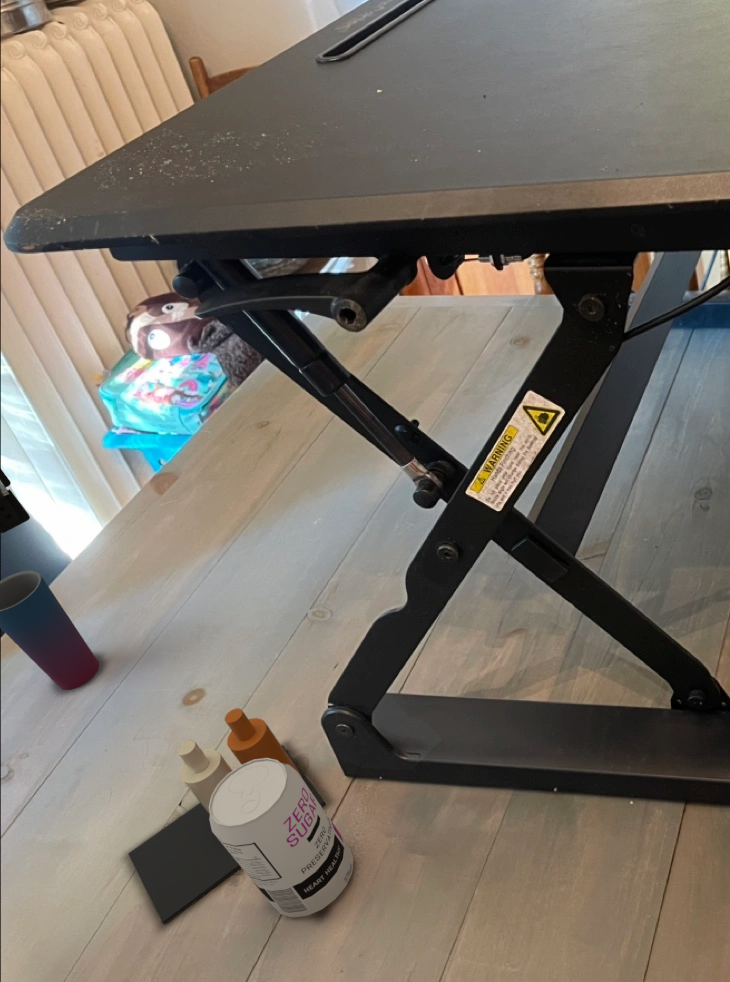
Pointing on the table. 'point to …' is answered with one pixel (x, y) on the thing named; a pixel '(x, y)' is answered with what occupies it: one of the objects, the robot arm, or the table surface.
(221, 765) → the cream bottle
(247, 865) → the supplement can
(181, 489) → the table surface
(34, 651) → the cup
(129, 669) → the table surface
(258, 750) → the amber bottle
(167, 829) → the mat
